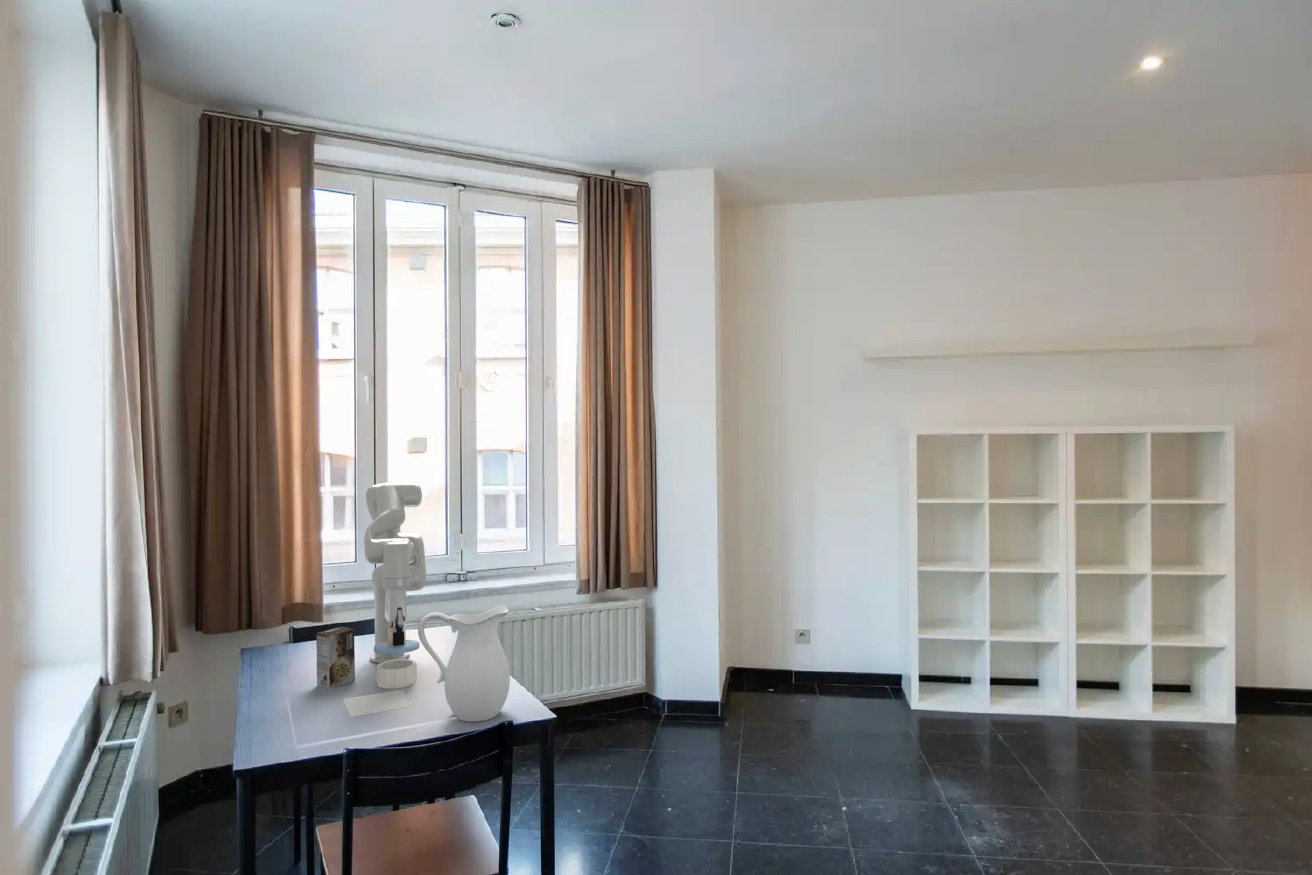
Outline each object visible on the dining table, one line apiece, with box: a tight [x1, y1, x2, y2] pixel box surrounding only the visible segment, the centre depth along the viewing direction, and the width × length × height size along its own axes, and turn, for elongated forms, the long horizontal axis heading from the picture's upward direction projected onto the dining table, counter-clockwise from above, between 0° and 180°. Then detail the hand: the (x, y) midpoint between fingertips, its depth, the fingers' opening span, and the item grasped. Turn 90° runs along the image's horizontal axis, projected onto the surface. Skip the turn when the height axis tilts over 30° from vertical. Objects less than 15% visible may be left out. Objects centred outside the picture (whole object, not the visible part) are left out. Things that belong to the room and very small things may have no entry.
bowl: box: [376, 658, 418, 689], centre depth 228 cm, size 11×11×6 cm
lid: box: [373, 627, 421, 654], centre depth 228 cm, size 13×13×6 cm
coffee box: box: [315, 626, 356, 689], centre depth 229 cm, size 9×6×16 cm
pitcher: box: [417, 605, 511, 723], centre depth 202 cm, size 24×17×28 cm
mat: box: [342, 689, 414, 718], centre depth 210 cm, size 16×16×1 cm
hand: (396, 642), depth 228 cm, fingers closed on lid, 5 cm apart
